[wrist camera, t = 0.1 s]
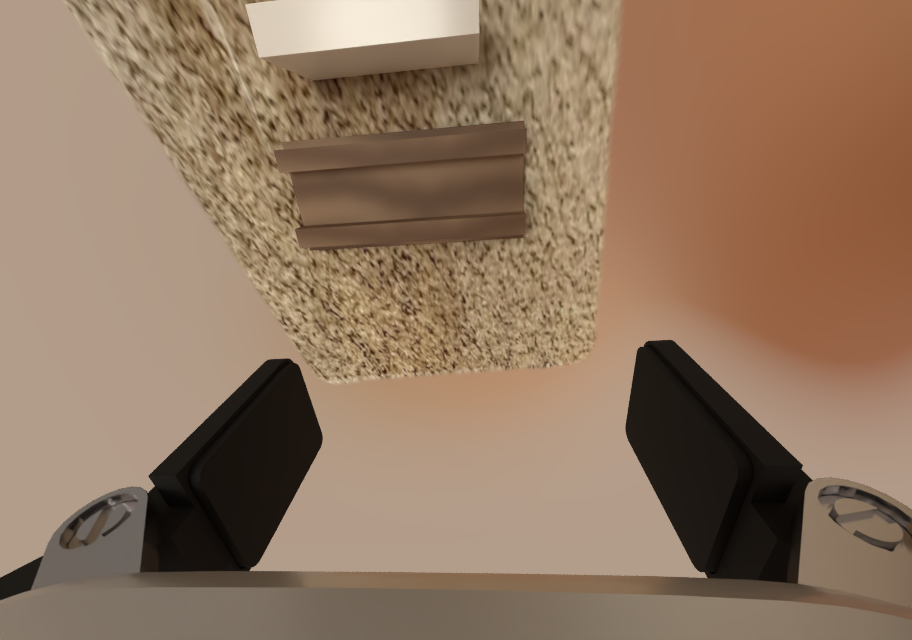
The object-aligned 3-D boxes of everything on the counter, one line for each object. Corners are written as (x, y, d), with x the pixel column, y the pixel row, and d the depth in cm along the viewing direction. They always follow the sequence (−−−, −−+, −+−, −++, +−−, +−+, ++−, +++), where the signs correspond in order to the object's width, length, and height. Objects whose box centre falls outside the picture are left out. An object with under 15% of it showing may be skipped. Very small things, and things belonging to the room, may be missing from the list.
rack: (286, 142, 36) (271, 141, 33) (522, 121, 34) (526, 118, 31) (313, 248, 40) (302, 255, 38) (521, 235, 38) (525, 241, 36)
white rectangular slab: (304, 41, 32) (245, 4, 24) (477, 22, 31) (477, -25, 22) (312, 80, 33) (259, 57, 25) (479, 63, 32) (479, 33, 24)
